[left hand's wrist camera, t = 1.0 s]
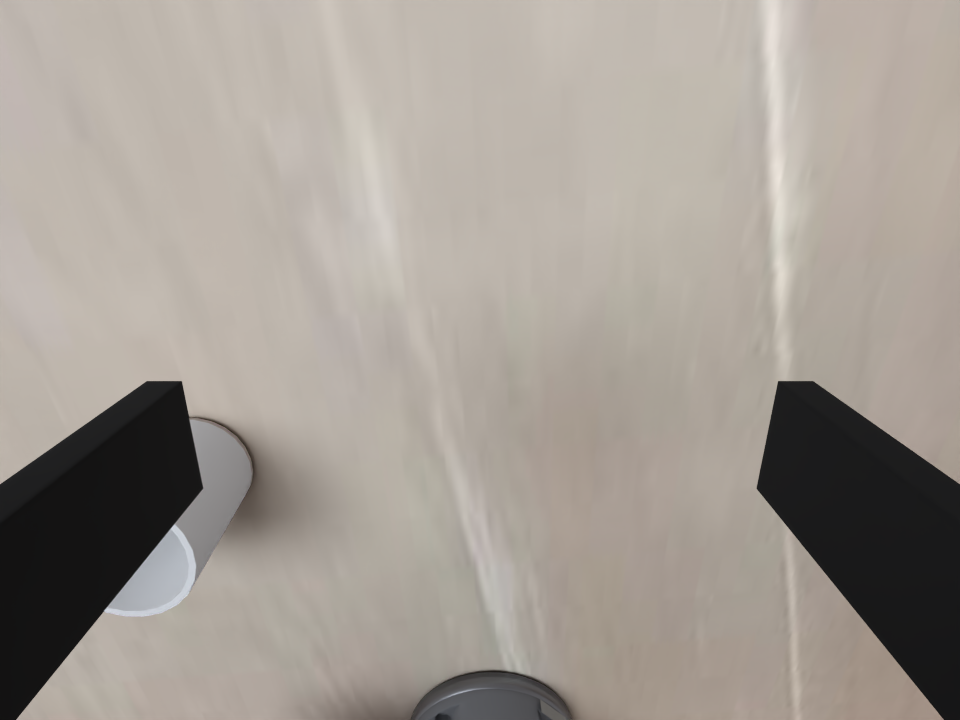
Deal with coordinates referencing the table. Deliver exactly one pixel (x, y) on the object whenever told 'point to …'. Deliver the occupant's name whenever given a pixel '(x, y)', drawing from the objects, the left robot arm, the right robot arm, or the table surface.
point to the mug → (191, 526)
